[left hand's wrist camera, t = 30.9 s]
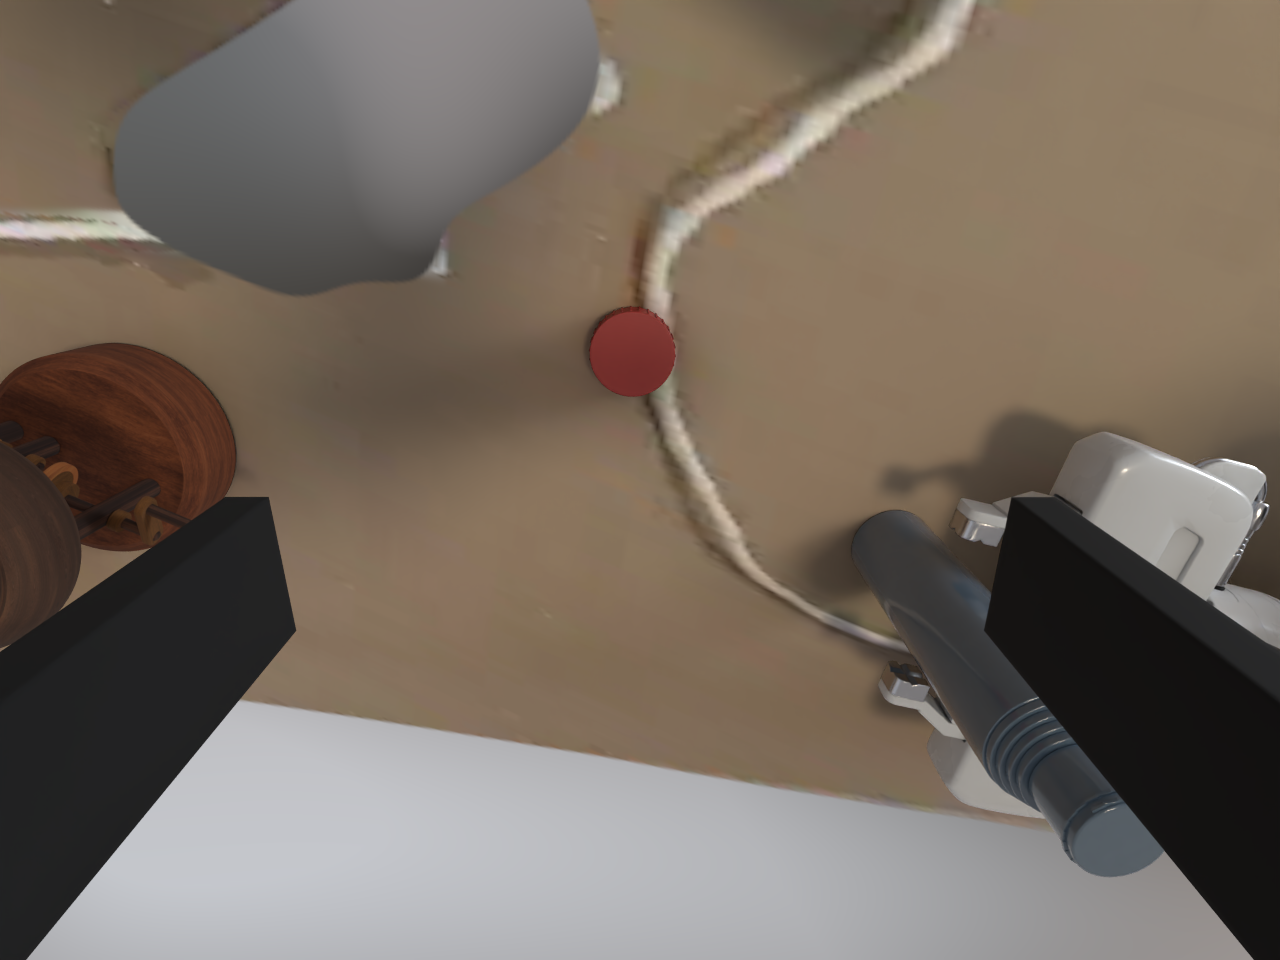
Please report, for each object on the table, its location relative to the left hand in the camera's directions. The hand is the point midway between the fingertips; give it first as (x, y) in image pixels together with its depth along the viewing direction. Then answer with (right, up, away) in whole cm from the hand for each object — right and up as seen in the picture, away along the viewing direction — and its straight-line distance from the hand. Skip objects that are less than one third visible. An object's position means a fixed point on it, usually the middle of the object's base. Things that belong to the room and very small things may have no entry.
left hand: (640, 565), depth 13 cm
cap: (0, +8, +22) cm, 24 cm away
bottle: (+15, -2, +28) cm, 32 cm away
